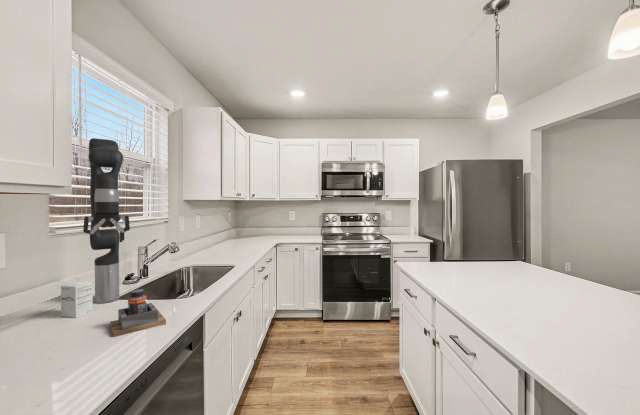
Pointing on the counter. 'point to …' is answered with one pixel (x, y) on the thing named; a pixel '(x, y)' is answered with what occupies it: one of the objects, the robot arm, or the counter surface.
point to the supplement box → (76, 299)
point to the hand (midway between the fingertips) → (107, 243)
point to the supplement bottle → (137, 302)
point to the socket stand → (136, 321)
